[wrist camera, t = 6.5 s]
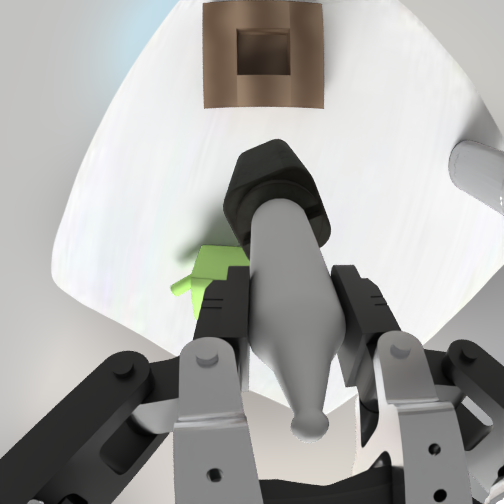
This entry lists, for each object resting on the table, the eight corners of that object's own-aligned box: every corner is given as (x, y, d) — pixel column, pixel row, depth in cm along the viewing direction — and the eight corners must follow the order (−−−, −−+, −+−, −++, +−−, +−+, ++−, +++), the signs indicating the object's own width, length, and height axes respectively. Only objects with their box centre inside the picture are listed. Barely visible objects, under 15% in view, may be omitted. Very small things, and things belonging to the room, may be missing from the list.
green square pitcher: (179, 290, 54) (166, 326, 46) (175, 242, 49) (158, 275, 41) (278, 297, 54) (280, 335, 46) (285, 249, 49) (289, 284, 41)
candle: (304, 183, 28) (422, 441, 6) (255, 203, 29) (251, 485, 7) (284, 134, 26) (425, 322, 4) (232, 156, 27) (139, 404, 5)
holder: (314, 13, 32) (321, 3, 27) (316, 108, 39) (323, 108, 34) (208, 13, 32) (202, 3, 27) (209, 108, 39) (203, 108, 34)
